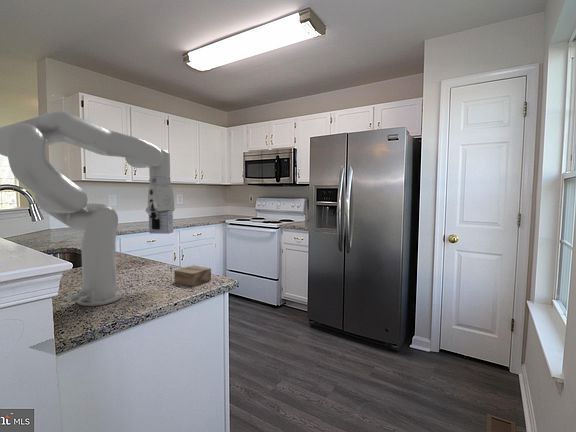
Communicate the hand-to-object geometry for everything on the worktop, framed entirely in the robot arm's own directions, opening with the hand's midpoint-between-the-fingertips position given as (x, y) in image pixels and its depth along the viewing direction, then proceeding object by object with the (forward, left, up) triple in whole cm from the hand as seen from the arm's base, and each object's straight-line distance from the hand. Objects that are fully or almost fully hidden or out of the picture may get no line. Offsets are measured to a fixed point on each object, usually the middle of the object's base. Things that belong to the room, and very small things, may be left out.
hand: (161, 227), depth 122 cm
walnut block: (+6, -10, -22) cm, 25 cm away
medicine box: (0, 0, -2) cm, 2 cm away
